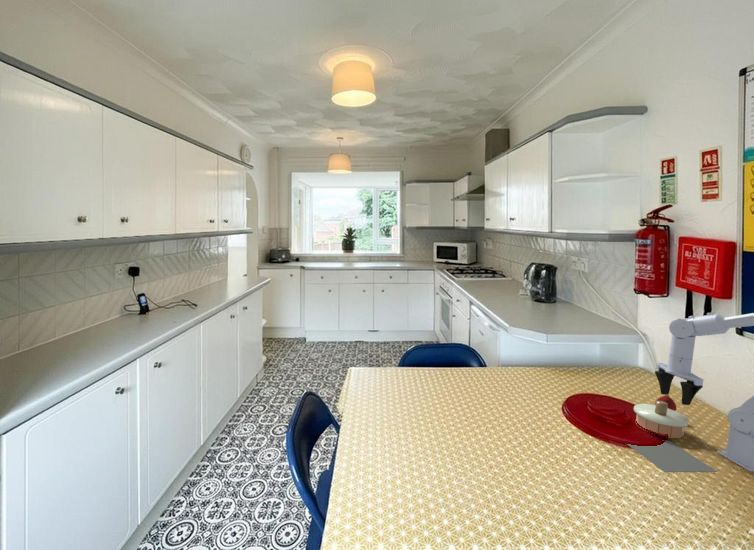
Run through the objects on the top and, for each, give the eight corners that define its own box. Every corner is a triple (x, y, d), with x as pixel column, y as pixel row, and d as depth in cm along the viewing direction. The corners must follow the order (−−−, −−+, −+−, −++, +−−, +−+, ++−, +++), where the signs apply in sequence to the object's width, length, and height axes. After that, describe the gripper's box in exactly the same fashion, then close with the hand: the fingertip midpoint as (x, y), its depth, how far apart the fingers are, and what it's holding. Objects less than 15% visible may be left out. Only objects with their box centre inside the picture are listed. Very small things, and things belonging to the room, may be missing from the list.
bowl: (693, 439, 117) (695, 425, 117) (656, 439, 116) (658, 425, 115) (660, 420, 129) (662, 407, 128) (627, 420, 128) (628, 407, 127)
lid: (700, 426, 116) (702, 412, 116) (660, 427, 114) (662, 413, 113) (659, 405, 130) (661, 393, 129) (623, 406, 127) (624, 393, 127)
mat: (717, 473, 100) (717, 471, 100) (664, 473, 98) (664, 471, 98) (668, 442, 115) (668, 440, 114) (621, 441, 113) (621, 440, 113)
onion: (678, 421, 129) (681, 398, 128) (659, 419, 130) (662, 396, 129) (669, 414, 135) (672, 391, 134) (650, 411, 136) (653, 389, 135)
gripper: (650, 349, 126) (644, 389, 128) (690, 364, 112) (684, 409, 113) (669, 350, 127) (664, 390, 128) (712, 364, 113) (705, 409, 114)
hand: (674, 399), depth 121 cm, fingers open, 7 cm apart
